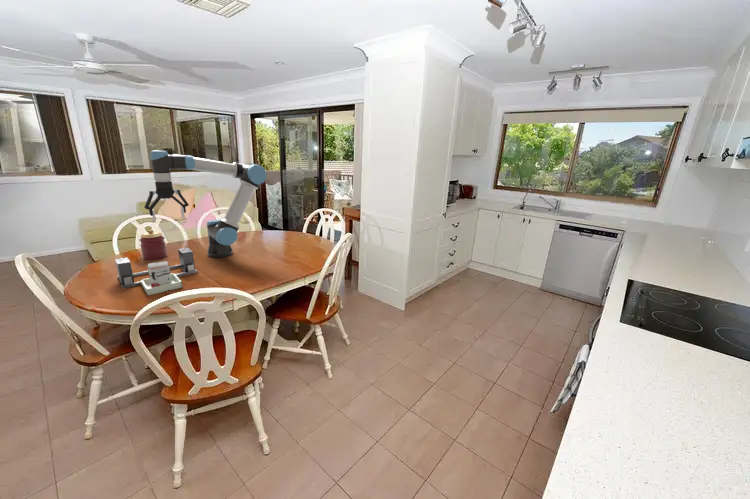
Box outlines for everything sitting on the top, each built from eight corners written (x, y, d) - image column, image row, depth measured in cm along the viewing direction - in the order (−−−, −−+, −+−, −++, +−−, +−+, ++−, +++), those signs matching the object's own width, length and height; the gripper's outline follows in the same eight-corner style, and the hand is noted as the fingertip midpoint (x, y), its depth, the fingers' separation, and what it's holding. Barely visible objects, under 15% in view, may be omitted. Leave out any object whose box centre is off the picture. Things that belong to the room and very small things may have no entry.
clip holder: (190, 265, 185) (187, 246, 181) (198, 272, 175) (195, 252, 171) (117, 279, 162) (112, 257, 158) (122, 288, 152) (117, 266, 148)
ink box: (151, 289, 152) (147, 266, 148) (151, 285, 156) (147, 263, 152) (172, 285, 157) (168, 263, 153) (171, 282, 160) (167, 260, 157)
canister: (144, 261, 187) (138, 233, 182) (141, 255, 196) (136, 228, 191) (169, 257, 195) (164, 230, 190) (165, 252, 204) (161, 226, 199)
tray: (174, 278, 166) (174, 272, 165) (182, 287, 156) (181, 281, 155) (141, 285, 156) (140, 279, 155) (147, 295, 146) (146, 289, 146)
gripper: (187, 179, 175) (192, 216, 181) (132, 181, 158) (140, 221, 164) (191, 180, 170) (196, 218, 176) (135, 182, 153) (143, 224, 159)
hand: (169, 220), depth 170 cm, fingers open, 13 cm apart
